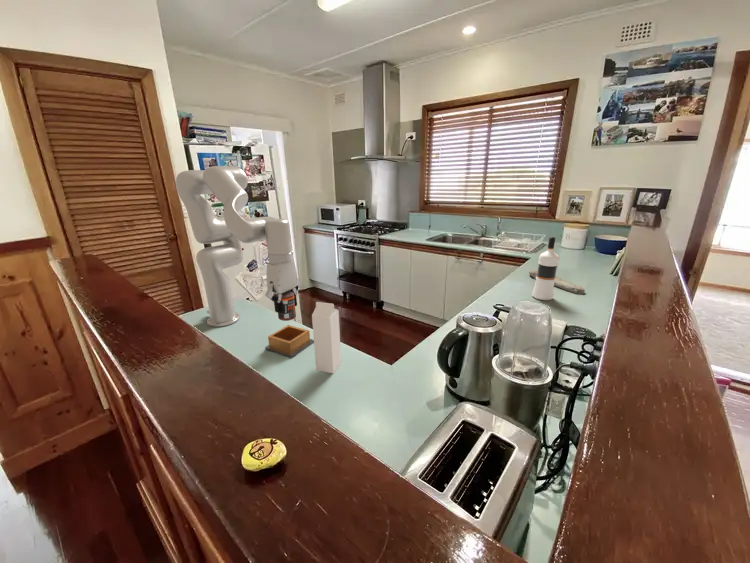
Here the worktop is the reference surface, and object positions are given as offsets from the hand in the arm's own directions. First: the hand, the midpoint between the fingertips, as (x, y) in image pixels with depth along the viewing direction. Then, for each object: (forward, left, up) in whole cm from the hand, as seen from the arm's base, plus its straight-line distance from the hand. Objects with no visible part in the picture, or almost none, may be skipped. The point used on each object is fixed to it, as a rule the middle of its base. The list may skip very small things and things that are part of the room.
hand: (286, 308), depth 107 cm
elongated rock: (+83, +119, -15) cm, 146 cm away
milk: (+20, -4, -15) cm, 25 cm away
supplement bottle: (0, 0, -4) cm, 4 cm away
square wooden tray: (0, 0, -15) cm, 15 cm away
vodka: (+78, +93, -15) cm, 122 cm away
